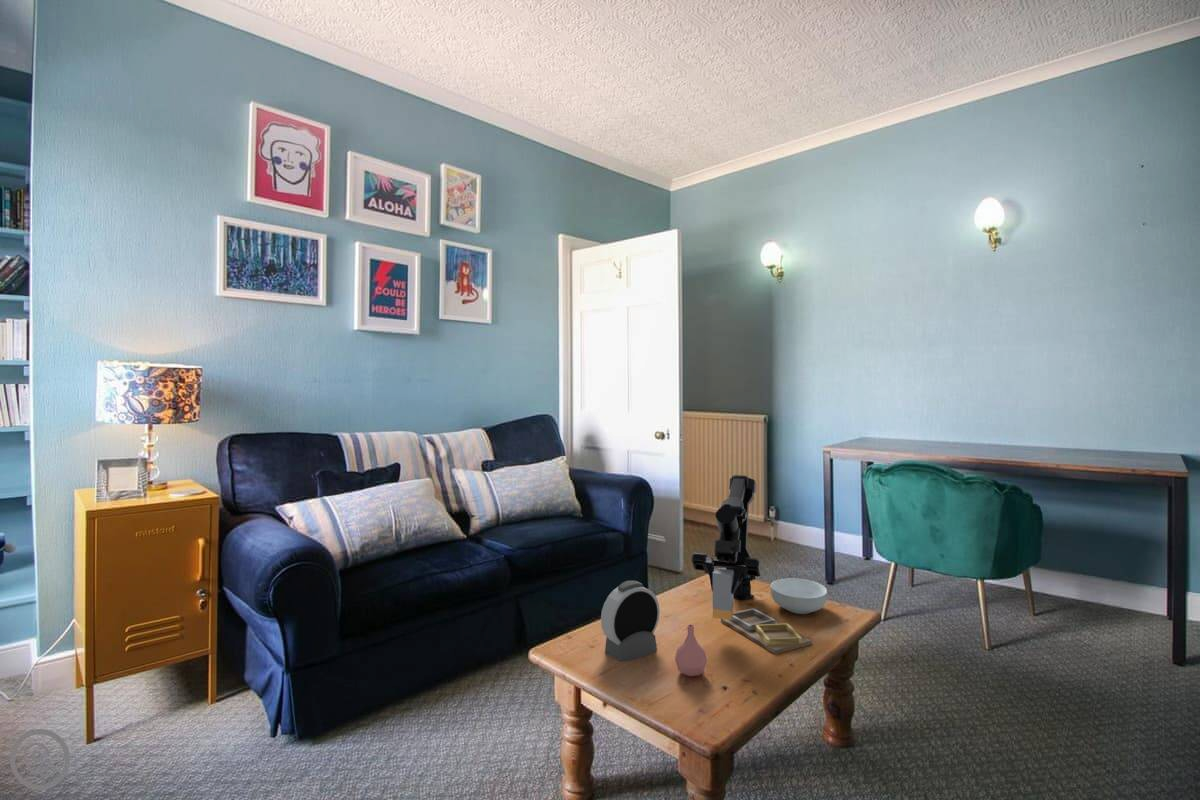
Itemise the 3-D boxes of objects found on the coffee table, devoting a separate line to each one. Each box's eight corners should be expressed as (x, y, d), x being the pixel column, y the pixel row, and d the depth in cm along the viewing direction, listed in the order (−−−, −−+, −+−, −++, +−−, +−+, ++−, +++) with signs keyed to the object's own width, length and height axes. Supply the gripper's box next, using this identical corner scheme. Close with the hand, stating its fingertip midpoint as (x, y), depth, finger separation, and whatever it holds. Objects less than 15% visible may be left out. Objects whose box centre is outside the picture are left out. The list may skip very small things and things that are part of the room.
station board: (720, 621, 173) (720, 613, 173) (755, 613, 179) (755, 605, 179) (775, 654, 152) (775, 645, 152) (812, 644, 158) (812, 635, 158)
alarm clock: (617, 665, 147) (616, 594, 147) (595, 650, 156) (594, 583, 155) (666, 649, 156) (666, 581, 156) (643, 635, 165) (642, 571, 164)
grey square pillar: (715, 611, 165) (715, 568, 165) (733, 614, 163) (733, 570, 163) (712, 617, 161) (712, 573, 160) (731, 620, 159) (730, 575, 159)
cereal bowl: (759, 604, 187) (759, 582, 186) (798, 596, 194) (798, 574, 193) (798, 624, 171) (798, 600, 171) (839, 614, 178) (839, 591, 178)
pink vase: (685, 663, 148) (685, 616, 148) (712, 672, 143) (712, 624, 143) (669, 675, 142) (668, 627, 142) (696, 685, 137) (696, 635, 137)
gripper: (692, 524, 168) (684, 574, 158) (759, 530, 161) (754, 582, 152) (698, 544, 176) (690, 593, 166) (762, 550, 169) (758, 601, 159)
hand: (722, 592), depth 161 cm, fingers closed on grey square pillar, 5 cm apart
